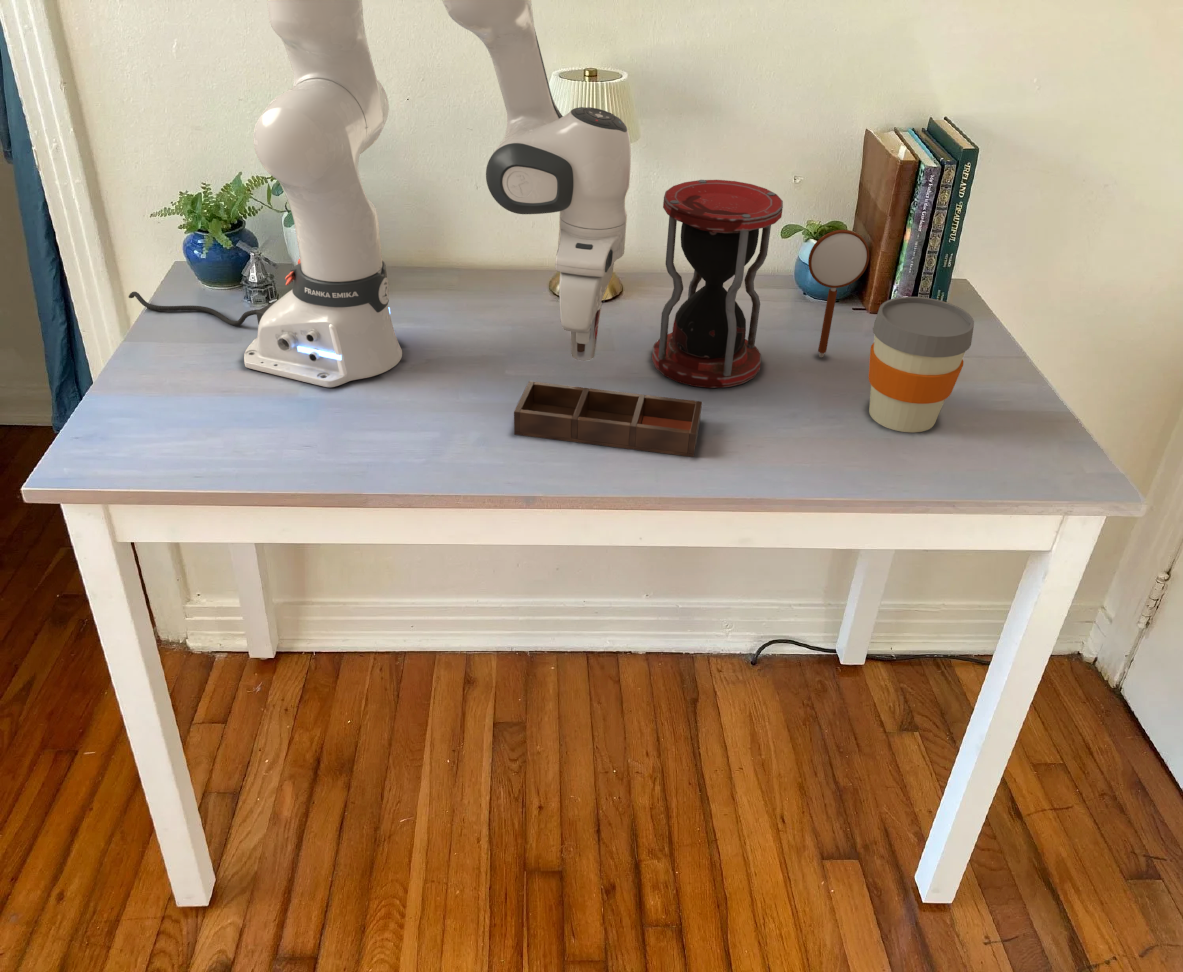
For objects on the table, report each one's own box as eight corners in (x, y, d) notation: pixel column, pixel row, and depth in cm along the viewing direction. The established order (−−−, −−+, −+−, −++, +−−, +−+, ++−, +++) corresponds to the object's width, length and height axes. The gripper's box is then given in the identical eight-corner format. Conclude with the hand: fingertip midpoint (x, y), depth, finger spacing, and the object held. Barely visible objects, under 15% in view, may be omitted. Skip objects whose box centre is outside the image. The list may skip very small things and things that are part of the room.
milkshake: (600, 366, 140) (605, 300, 134) (563, 360, 140) (566, 294, 135) (607, 351, 143) (611, 286, 138) (570, 346, 144) (573, 281, 138)
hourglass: (636, 344, 153) (646, 182, 139) (732, 333, 157) (751, 174, 143) (676, 395, 141) (691, 223, 126) (778, 381, 145) (805, 212, 131)
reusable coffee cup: (965, 436, 134) (994, 335, 125) (877, 442, 132) (900, 339, 123) (924, 390, 144) (949, 293, 135) (842, 395, 142) (861, 297, 134)
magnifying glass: (793, 359, 151) (814, 231, 139) (791, 353, 152) (812, 226, 141) (850, 360, 151) (876, 232, 140) (848, 355, 152) (873, 228, 141)
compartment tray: (514, 434, 131) (513, 411, 129) (529, 403, 138) (529, 380, 136) (693, 457, 128) (696, 434, 126) (699, 423, 135) (702, 401, 133)
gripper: (583, 209, 141) (578, 300, 149) (552, 264, 124) (549, 363, 132) (627, 214, 140) (620, 305, 148) (602, 270, 123) (596, 369, 131)
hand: (586, 333), depth 140 cm, fingers closed on milkshake, 4 cm apart
